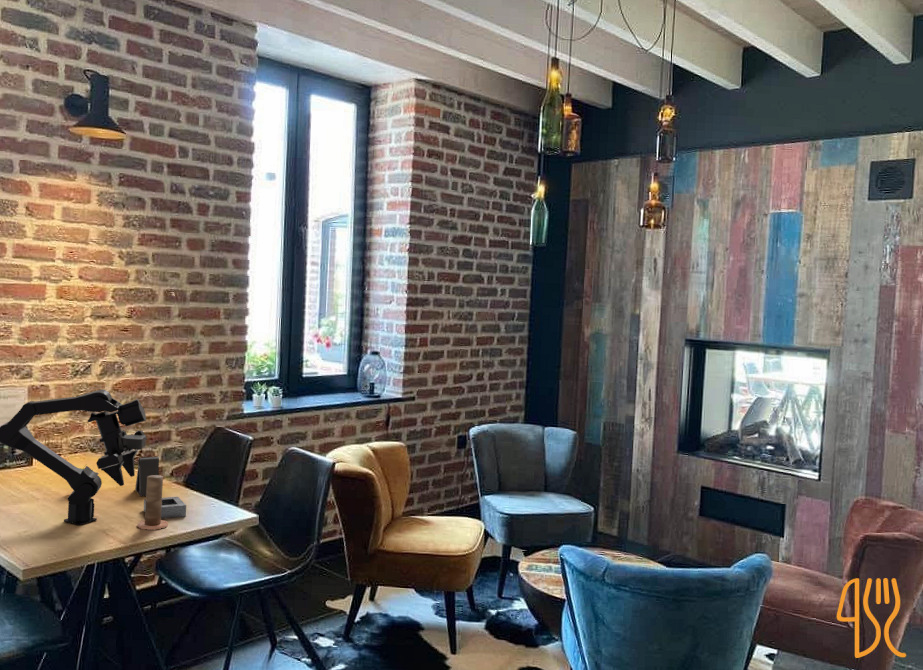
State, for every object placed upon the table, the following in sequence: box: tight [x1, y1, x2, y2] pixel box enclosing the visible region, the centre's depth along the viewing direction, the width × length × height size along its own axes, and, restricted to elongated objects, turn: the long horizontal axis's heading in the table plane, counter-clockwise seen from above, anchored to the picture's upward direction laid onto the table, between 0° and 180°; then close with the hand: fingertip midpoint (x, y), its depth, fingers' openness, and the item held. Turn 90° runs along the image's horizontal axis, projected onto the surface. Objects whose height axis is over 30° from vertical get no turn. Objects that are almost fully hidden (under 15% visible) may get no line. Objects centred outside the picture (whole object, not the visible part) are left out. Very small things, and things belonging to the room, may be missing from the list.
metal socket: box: [143, 496, 187, 520], centre depth 245 cm, size 10×10×4 cm
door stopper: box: [134, 456, 160, 497], centre depth 265 cm, size 9×6×12 cm, turn 33°
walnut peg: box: [144, 474, 164, 526], centre depth 232 cm, size 4×4×14 cm
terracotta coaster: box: [136, 519, 169, 531], centre depth 232 cm, size 8×8×1 cm
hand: (127, 480), depth 234 cm, fingers open, 9 cm apart
